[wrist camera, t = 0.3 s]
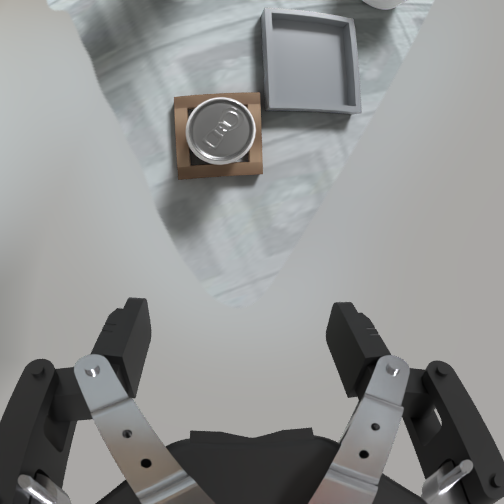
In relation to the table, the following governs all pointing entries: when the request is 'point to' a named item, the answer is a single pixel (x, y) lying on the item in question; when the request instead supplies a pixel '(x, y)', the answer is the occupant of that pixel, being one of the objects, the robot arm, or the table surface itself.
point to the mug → (384, 3)
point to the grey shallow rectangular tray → (310, 62)
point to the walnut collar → (214, 170)
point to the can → (220, 130)
